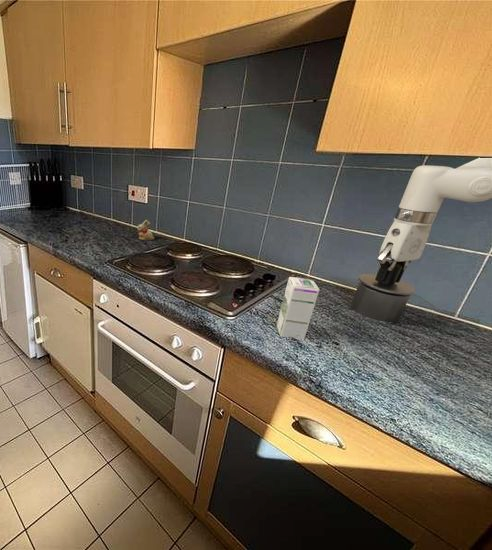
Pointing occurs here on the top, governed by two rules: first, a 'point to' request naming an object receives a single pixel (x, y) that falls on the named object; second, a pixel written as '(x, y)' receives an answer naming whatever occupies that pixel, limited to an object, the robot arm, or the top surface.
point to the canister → (378, 304)
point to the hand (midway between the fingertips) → (386, 280)
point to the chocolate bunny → (145, 231)
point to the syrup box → (297, 307)
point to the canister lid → (392, 286)
